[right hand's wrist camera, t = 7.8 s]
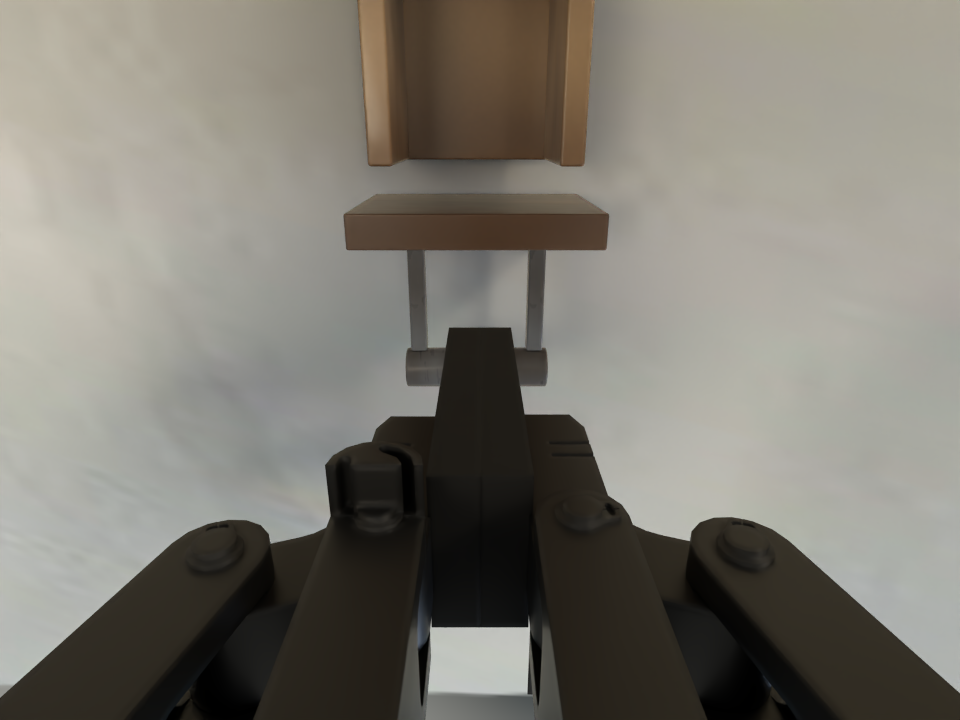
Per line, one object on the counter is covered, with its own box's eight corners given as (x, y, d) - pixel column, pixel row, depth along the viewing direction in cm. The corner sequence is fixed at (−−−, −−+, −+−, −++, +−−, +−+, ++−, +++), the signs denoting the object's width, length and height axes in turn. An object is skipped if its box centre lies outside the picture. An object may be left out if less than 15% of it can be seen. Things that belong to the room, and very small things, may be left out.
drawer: (568, 343, 28) (594, 403, 22) (384, 343, 28) (358, 403, 22) (610, -365, 19) (674, -600, 13) (340, -366, 19) (275, -603, 13)
